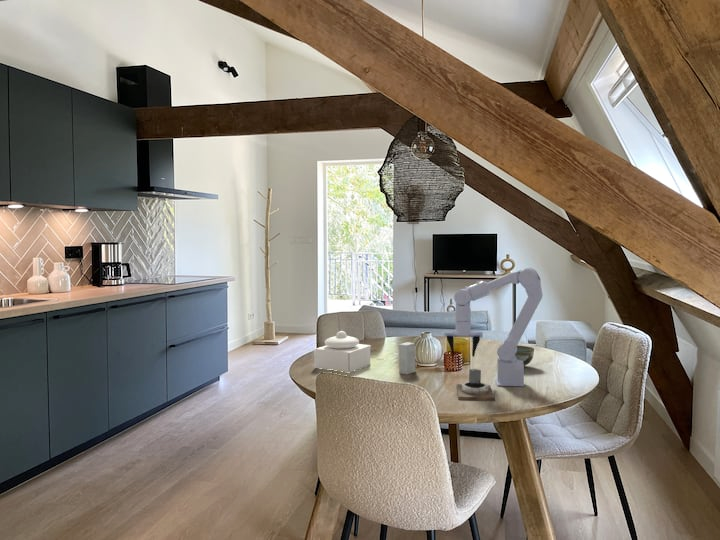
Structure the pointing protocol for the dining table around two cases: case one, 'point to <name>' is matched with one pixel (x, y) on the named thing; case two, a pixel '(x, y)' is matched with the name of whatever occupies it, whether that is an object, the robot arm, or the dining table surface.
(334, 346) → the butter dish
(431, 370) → the dining table surface
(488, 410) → the dining table surface
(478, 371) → the cylinder
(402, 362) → the skincare box
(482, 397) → the collar board
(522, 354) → the bowl
